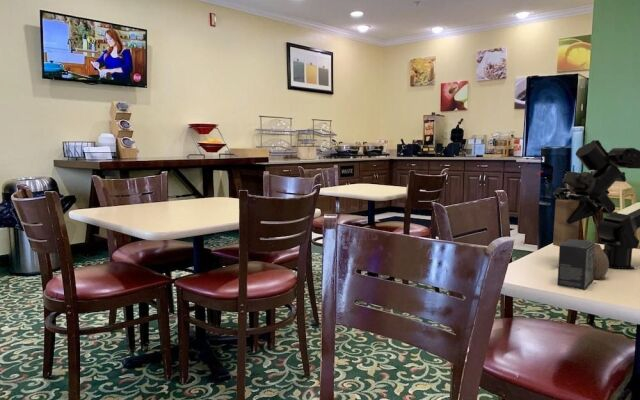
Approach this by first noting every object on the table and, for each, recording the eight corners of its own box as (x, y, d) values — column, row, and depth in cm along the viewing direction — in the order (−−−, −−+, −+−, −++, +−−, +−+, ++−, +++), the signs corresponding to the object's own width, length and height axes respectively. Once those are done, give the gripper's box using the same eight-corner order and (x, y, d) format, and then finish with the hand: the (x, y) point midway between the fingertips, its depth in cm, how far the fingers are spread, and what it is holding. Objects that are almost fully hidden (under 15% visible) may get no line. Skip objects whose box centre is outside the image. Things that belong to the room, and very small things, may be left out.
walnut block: (566, 244, 134) (569, 199, 133) (577, 247, 130) (580, 201, 129) (552, 244, 133) (555, 199, 132) (563, 247, 129) (566, 201, 128)
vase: (573, 273, 127) (575, 241, 126) (600, 274, 126) (602, 242, 125) (584, 280, 120) (586, 246, 119) (612, 281, 119) (615, 247, 119)
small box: (565, 276, 123) (568, 237, 122) (593, 281, 119) (596, 241, 118) (555, 285, 115) (558, 243, 114) (585, 290, 111) (588, 247, 110)
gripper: (560, 160, 139) (524, 198, 138) (609, 162, 121) (568, 205, 120) (582, 187, 141) (547, 223, 140) (633, 192, 123) (593, 234, 122)
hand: (562, 221), depth 131 cm, fingers closed on walnut block, 4 cm apart
